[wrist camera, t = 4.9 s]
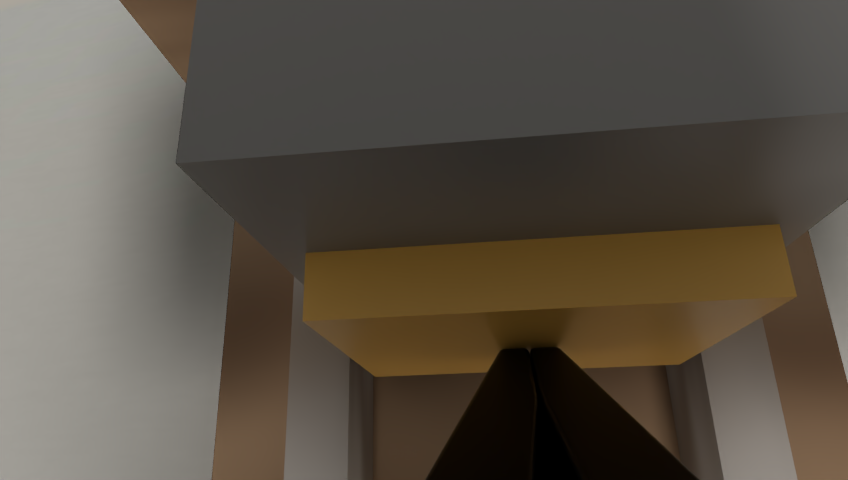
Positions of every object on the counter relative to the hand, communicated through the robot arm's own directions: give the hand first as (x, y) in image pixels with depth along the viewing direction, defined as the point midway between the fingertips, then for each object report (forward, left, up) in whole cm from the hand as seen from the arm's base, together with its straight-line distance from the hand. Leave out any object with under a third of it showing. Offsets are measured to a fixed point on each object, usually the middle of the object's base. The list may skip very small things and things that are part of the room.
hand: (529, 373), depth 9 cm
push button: (+2, +1, -5) cm, 6 cm away
